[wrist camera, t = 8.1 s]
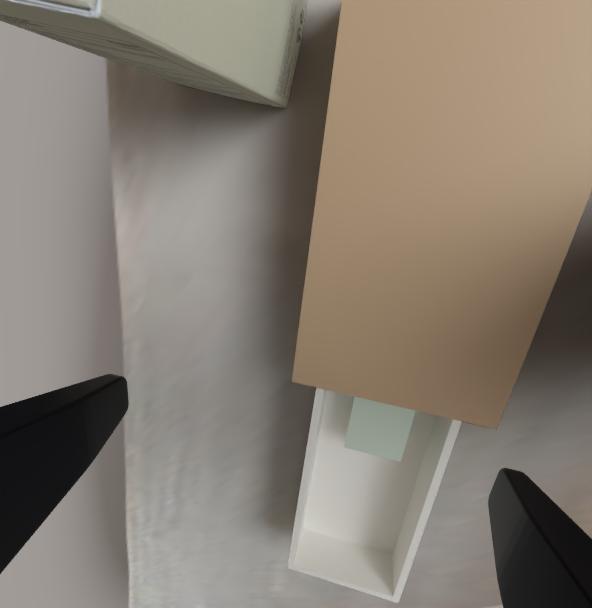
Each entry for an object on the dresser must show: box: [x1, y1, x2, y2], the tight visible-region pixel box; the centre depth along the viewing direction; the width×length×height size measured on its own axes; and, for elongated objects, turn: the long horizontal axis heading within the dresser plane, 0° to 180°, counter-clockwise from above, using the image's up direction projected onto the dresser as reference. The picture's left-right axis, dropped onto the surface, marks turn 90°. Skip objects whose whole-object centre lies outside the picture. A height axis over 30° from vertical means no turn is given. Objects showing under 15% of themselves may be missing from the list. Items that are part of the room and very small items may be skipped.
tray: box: [287, 388, 462, 603], centre depth 21 cm, size 7×16×3 cm, turn 173°
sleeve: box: [292, 0, 592, 429], centre depth 16 cm, size 9×16×4 cm, turn 173°
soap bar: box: [344, 396, 415, 462], centre depth 20 cm, size 3×5×2 cm, turn 173°
